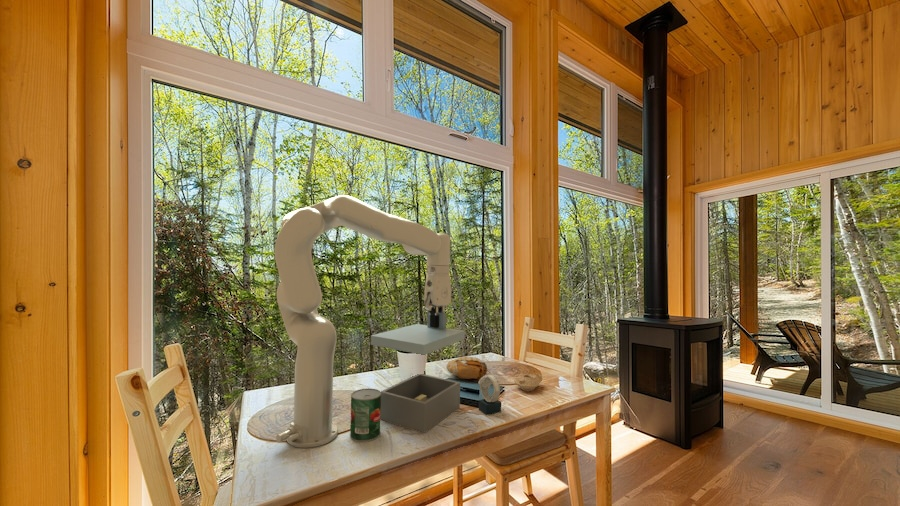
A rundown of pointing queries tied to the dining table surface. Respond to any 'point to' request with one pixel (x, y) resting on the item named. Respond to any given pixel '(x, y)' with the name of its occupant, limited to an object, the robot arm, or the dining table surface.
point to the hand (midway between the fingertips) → (436, 326)
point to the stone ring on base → (489, 403)
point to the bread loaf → (467, 368)
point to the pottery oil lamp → (528, 381)
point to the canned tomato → (365, 415)
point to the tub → (420, 402)
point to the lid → (419, 337)
